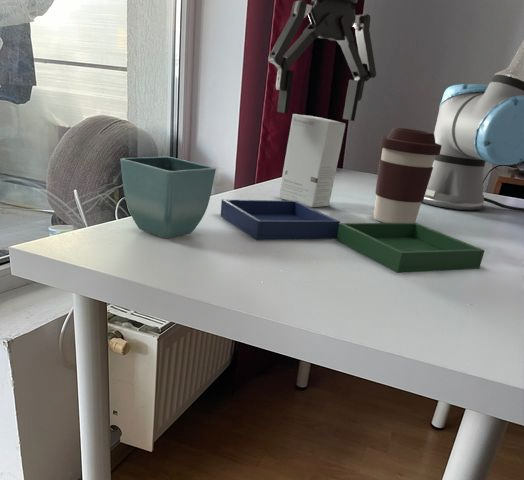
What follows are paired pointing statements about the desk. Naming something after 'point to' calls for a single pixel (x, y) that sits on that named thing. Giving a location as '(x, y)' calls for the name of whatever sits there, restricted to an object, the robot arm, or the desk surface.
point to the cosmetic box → (311, 160)
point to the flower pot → (166, 193)
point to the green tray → (409, 247)
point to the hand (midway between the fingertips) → (316, 116)
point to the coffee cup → (404, 174)
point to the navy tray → (279, 220)
